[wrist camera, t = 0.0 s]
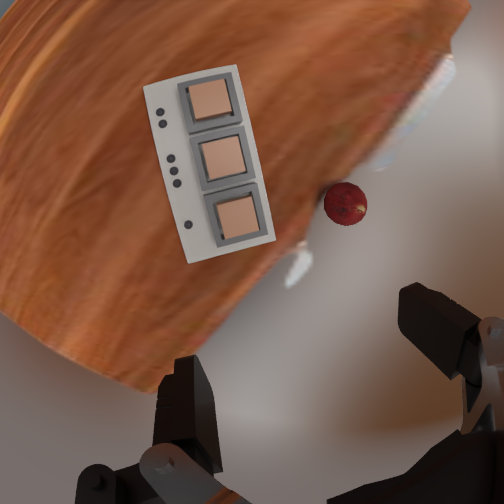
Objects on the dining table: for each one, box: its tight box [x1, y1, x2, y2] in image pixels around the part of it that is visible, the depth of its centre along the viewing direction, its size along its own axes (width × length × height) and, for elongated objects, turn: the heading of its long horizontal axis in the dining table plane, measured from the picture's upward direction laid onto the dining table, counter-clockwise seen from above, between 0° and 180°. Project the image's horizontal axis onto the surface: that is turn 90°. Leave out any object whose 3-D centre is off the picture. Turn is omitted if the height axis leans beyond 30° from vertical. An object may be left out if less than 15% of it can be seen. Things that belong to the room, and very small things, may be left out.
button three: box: [202, 136, 246, 179], centre depth 30 cm, size 4×4×2 cm
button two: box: [189, 79, 232, 122], centre depth 28 cm, size 4×4×2 cm
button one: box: [216, 195, 259, 239], centre depth 32 cm, size 4×4×2 cm
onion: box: [324, 182, 367, 226], centre depth 35 cm, size 6×6×8 cm
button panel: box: [143, 64, 276, 264], centre depth 33 cm, size 24×12×4 cm, turn 13°
